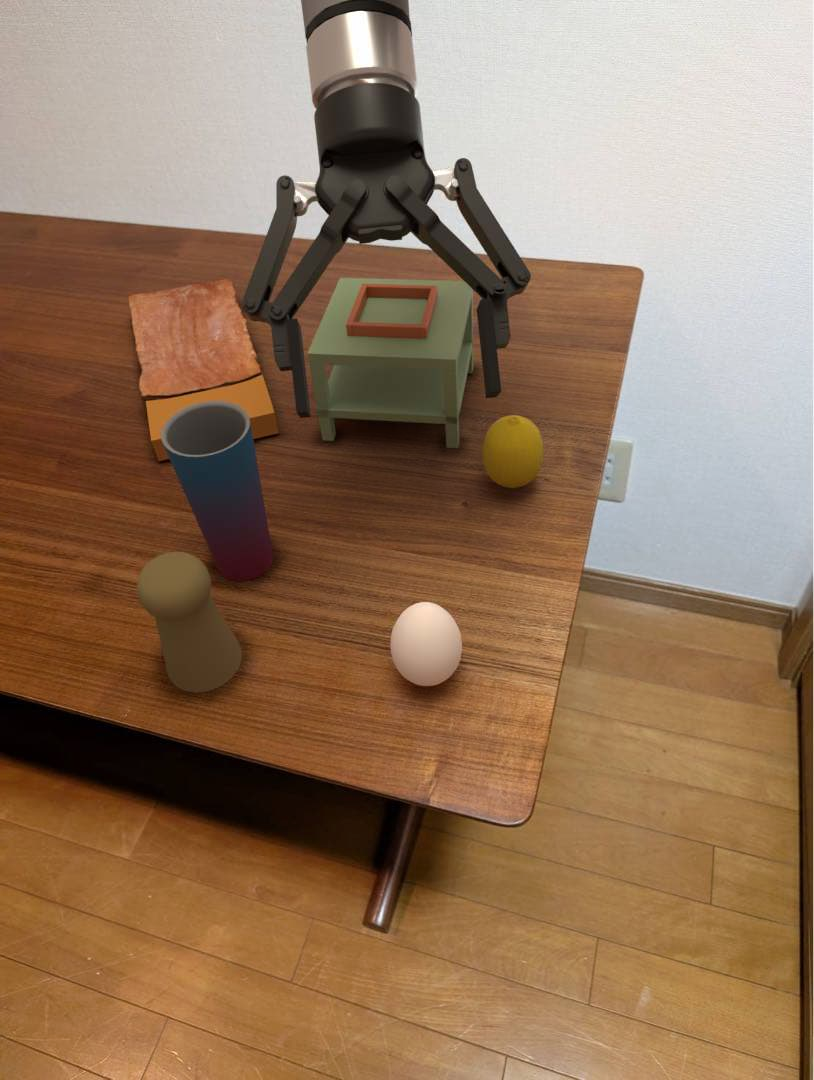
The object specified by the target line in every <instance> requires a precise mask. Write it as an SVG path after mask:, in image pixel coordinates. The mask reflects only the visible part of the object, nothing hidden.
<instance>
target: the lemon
mask: <svg viewBox="0 0 814 1080" xmlns="http://www.w3.org/2000/svg"><path fill="white" fill-rule="evenodd" d="M481 455H482V456H481V457H482V464H483V467H484V470H485V472H486V474H487V475H488V477H489V478H490V479H491V480H492V481H493V482H494V483H495V484H497V485H499V486H502V487H504V488H508V489H516V488H520V487H521V488H522V487H523V486H526V485H528V484H529V483H530V482H532V481H533V480H534V479H535V477H536V476H537V475H538V474H539V472H540V470H541V468H542V464H543V461H544V443H543V438H542V435H541V432H540V431H539V428H538V427H537V426H536V424H535V423H534V422H532V420H530V419H529V418H527V417H524V416H522V415H518V414H517V415H516V414H515V415H514V414H512V415H511V414H510V415H505V416H503V417H501V418H499V419H497V420H496V421H495V422H493V423H492V424H491V426H490V427H489V428H488V430H487V431H486V434H485V436H484V441H483V444H482V451H481Z"/></svg>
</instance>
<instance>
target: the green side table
mask: <svg viewBox="0 0 814 1080" xmlns="http://www.w3.org/2000/svg"><path fill="white" fill-rule="evenodd" d="M306 355H307V360H308V364H309V371H310V376H311V383H312V390H313V394H314V400H315V405H316V412H317V417H318V423H319V428H320V435H321V440H322V441H327V442H334V441H335V439H336V434H337V431H336V424H335V419H346V420H348V419H349V420H364V421H365V420H366V421H381V422H382V421H384V422H385V421H386V422H402V423H417V424H418V423H421V424H436V425H437V424H439V425H445V448H446V449H458V448H459V446H460V414H461V408H462V404H463V399H464V394H465V388H466V384H467V383H466V382H467V377H468V374H471V375H472V374H473V373H474V372H473V371H474V290H473V289H472V288H471V287H470V286H469V285H468V284H467V283H466V282H465V281H464V280H437V279H436V280H435V279H434V280H432V279H400V278H399V279H398V278H397V279H396V278H365V277H364V278H362V277H361V278H360V277H339V279H338V281H337V284H336V286H335V287H334V290H333V293H332V295H331V297H330V300H329V302H328V305H327V306H326V309H325V311H324V313H323V316H322V318H321V321H320V323H319V324H318V327H317V329H316V333H315V335H314V337H313V339H312V341H311V344H310V346H309V348H308V350H307V353H306ZM326 366H333V368H332V369H331V372H330V375H329V378H328V374H327V369H326Z"/></svg>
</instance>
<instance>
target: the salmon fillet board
mask: <svg viewBox="0 0 814 1080" xmlns="http://www.w3.org/2000/svg"><path fill="white" fill-rule="evenodd" d="M127 299H128V308H129V311H130V316H131V325H132V333H133V337H134V343H135V352H136V355H137V359H138V363H139V366H140V370H141V373H140V376H139V378H138V379H139V380H138V389H139V391H140V394H141V395H140V397H141V399H142V401H143V402H144V404H145V405H146V406H145V407H146V414H147V420H148V428H149V434H150V442H151V445H152V447H153V450H154V452H155V456H156V459H157V461H158V462H162V461H165V460H166V461H167V460H170V459H169V456H168V454H167V452H166V450H165V447H164V445H163V443H162V440H161V432H162V428H163V426H164V425H165V423H166V422H167V421H168V419H169V418H170V417H172V416H173V415H174V414H175V413H177V412H178V411H180V410H182V409H184V408H186V407H188V406H190V405H194V404H197V403H201V402H206V401H225V402H230V403H233V404H236V405H238V406H240V407H242V408H243V409H244V410H245V411H246V412H247V414H248V415H249V418H250V423H251V429H252V435H253V440H255V439H260V438H263V437H268V436H273V435H276V434H280V431H279V426H278V422H277V417H276V414H275V410H274V406H273V402H272V400H271V397H270V394H269V390H268V387H267V384H266V381H265V378H264V374H263V373H262V370H261V365H260V364H259V362H258V357H257V356H258V355H257V352H256V351H255V347H254V344H253V342H252V337H251V334H250V330H249V328H248V325H247V322H248V320H247V319H246V318H245V317H244V314H243V311H242V310H243V309H241V307H240V304H239V299H238V293H237V290H236V287H235V284H234V283H233V281H231V279H229V278H223V279H219V280H213V281H210V282H202V283H196V284H195V283H194V284H189V285H184V286H179V287H175V288H168V289H161V290H157V291H156V290H155V291H150V292H139V293H135V294H129V295H128V298H127Z"/></svg>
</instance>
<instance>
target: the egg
mask: <svg viewBox="0 0 814 1080" xmlns="http://www.w3.org/2000/svg"><path fill="white" fill-rule="evenodd" d="M462 652H463V641H462V634H461V631H460V627H459V626H458V624H457V622H456V620H455V619H454V618H453V617H452V615H451V614H450V612H448V611H447V610H446V609H445V608H443V607H442V606H441V605H438V604H436V603H434V602H430V601H421V602H416V603H414V604H412V605H410V606H408V607H406V608H405V610H403V611H402V612H401V614H400V615H399V616H398V618H397V620H396V621H395V624H394V625H393V627H392V631H391V635H390V654H391V659H392V660H393V661H392V662H393V664H394V666H395V668H396V670H397V672H399V674H400V675H401V676H402V677H403V678H404V679H405V680H407V681H409V682H410V683H413V684H414V685H417V686H422V687H432V686H436V685H440V684H442V683H444V682H445V681H447V680H448V679H449V678H450V677H451V676H453V674H454V673H455V671H456V670H457V669H458V667H459V664H460V662H461V659H462V654H463V653H462Z"/></svg>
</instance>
